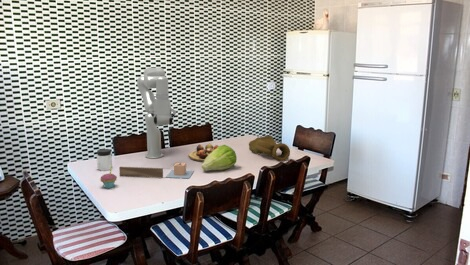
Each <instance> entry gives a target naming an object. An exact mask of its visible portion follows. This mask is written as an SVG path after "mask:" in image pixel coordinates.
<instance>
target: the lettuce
mask: <svg viewBox="0 0 470 265" xmlns="http://www.w3.org/2000/svg"><path fill="white" fill-rule="evenodd" d="M218 146H219V147H218V148H216V149H215V150H213V151H212V152H211V153H210V155H208V156H207V157H206V159H205V161H204V162H202V164H201V168H202V170H203V171H224V170H229V169H230V168H232V167H233V166H235V164H236V163H237V160H238V159H237V153H236V151H235V150H234V149H233V148H232V147H231V146H229V145H226V144H222V145H218Z"/></svg>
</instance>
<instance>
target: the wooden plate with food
mask: <svg viewBox="0 0 470 265" xmlns="http://www.w3.org/2000/svg"><path fill="white" fill-rule="evenodd" d="M219 146H220V145H218V144H217V145H216V144H215V145H214V146H213V144H210V143H208V144H206V145H205V147H204V146H203V145H202V144H197V145H196V149H195V150H192V151H191V152H189V153H188V158H189V159H190V160H192V161H194V162H198V163H199V162H200V163H203V162H204V161H205V159H206V157H207V156H208V155H210V153H211V152H212V151H213V150H215V149H216V148H218V147H219Z"/></svg>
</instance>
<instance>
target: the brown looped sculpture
mask: <svg viewBox="0 0 470 265" xmlns="http://www.w3.org/2000/svg"><path fill="white" fill-rule="evenodd" d="M248 146H249V147H248V148H249V151H251V152H252V153H253V154H254V155H257V154H258V155H261V154H265V155H266V156H268V155H270V156H269V157H273V158H274V159H276V161H278V160H279V162H284V161H283V160H285V161H286V160H288V159H289V157H290V156H291V150H290V147H289V146H288V144H286V143H281V142H279V143H277V142H276V140H275V139H274V137H273V136H272V135H271V134H270V135H264V136H258V137H256V138H254V139H253V140H251V141H249V142H248ZM278 149H279V151H280V152H281V154H278V155H277V151H278Z"/></svg>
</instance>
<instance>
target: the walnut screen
mask: <svg viewBox="0 0 470 265" xmlns="http://www.w3.org/2000/svg"><path fill="white" fill-rule="evenodd" d="M119 177H130V178H131V177H134V178H135V177H136V178H151V179H152V178H156V179H157V178H159V179H163V178H164V167H163V168H161V167H142V166H141V167H138V166H119Z"/></svg>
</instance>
